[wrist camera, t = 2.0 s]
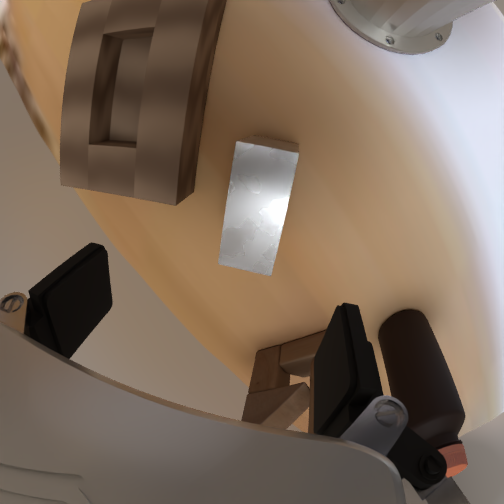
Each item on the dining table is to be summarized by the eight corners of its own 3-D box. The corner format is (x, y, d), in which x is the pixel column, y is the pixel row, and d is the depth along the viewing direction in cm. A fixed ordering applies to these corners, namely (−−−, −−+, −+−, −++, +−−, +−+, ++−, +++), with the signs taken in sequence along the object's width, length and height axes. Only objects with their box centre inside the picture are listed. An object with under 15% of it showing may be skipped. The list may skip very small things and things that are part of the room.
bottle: (367, 333, 32) (389, 489, 14) (409, 298, 29) (465, 455, 11) (396, 356, 33) (423, 491, 15) (435, 325, 30) (485, 460, 12)
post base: (106, 11, 19) (82, 3, 15) (226, -1, 18) (213, -19, 14) (85, 174, 28) (60, 185, 24) (193, 192, 27) (175, 205, 23)
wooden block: (255, 350, 36) (226, 478, 20) (334, 325, 32) (342, 469, 16) (268, 367, 37) (246, 488, 21) (344, 345, 33) (353, 479, 17)
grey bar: (254, 134, 24) (236, 141, 17) (298, 143, 24) (298, 153, 17) (239, 225, 28) (218, 263, 21) (278, 234, 28) (270, 276, 21)
